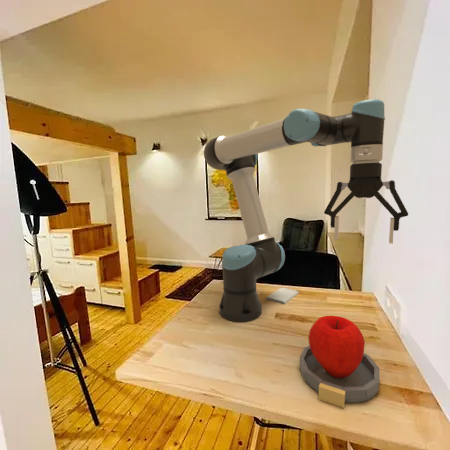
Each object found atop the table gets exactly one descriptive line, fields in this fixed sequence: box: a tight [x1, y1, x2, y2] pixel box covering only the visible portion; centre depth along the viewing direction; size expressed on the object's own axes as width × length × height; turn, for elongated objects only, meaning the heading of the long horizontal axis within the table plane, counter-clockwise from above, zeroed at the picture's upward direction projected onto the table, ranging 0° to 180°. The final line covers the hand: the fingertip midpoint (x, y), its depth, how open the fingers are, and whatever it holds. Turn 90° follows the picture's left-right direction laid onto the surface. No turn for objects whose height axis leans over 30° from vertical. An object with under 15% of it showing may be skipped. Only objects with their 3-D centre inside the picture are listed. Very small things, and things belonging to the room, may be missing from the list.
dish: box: [299, 345, 381, 409], centre depth 63 cm, size 17×18×3 cm
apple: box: [308, 315, 366, 378], centre depth 62 cm, size 12×12×13 cm
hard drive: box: [265, 287, 300, 305], centre depth 108 cm, size 2×8×12 cm
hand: (362, 240), depth 75 cm, fingers open, 13 cm apart
